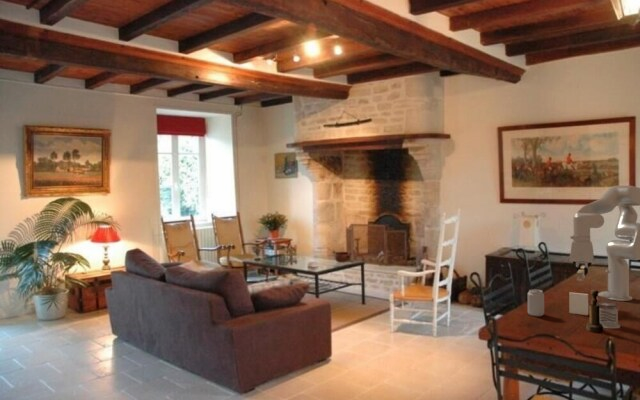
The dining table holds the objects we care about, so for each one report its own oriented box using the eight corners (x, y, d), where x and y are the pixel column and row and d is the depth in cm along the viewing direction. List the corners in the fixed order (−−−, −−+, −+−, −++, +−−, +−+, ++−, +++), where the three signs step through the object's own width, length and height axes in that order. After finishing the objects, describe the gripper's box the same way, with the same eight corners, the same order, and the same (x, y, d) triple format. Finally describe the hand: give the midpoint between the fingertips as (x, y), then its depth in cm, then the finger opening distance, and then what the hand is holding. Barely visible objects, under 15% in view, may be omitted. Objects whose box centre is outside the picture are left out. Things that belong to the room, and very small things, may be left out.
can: (545, 317, 243) (545, 292, 242) (529, 316, 244) (529, 292, 244) (542, 313, 250) (542, 288, 250) (526, 312, 252) (526, 288, 251)
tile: (570, 312, 250) (569, 292, 250) (588, 314, 246) (588, 294, 245) (569, 313, 249) (569, 292, 249) (587, 315, 244) (587, 294, 244)
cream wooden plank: (582, 272, 265) (582, 265, 265) (587, 273, 264) (587, 265, 264) (576, 280, 253) (576, 272, 252) (582, 280, 251) (582, 272, 251)
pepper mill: (582, 328, 224) (582, 288, 223) (596, 327, 225) (596, 287, 224) (592, 332, 218) (592, 291, 217) (606, 332, 218) (606, 290, 217)
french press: (620, 329, 221) (620, 272, 220) (590, 326, 227) (590, 270, 226) (620, 323, 229) (620, 269, 228) (591, 320, 236) (591, 267, 234)
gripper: (563, 239, 259) (563, 274, 260) (598, 240, 250) (599, 277, 250) (566, 237, 265) (566, 272, 266) (600, 238, 256) (601, 274, 257)
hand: (582, 274), depth 258 cm, fingers closed on cream wooden plank, 2 cm apart
